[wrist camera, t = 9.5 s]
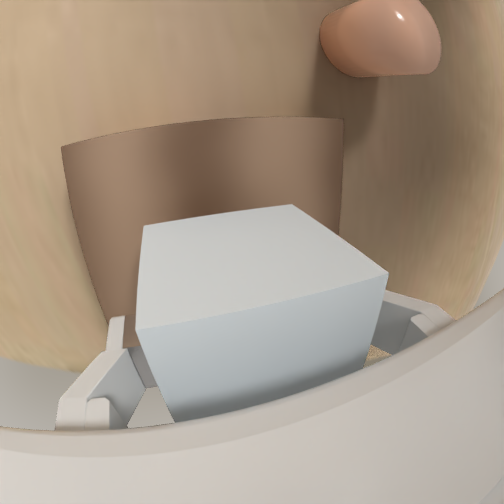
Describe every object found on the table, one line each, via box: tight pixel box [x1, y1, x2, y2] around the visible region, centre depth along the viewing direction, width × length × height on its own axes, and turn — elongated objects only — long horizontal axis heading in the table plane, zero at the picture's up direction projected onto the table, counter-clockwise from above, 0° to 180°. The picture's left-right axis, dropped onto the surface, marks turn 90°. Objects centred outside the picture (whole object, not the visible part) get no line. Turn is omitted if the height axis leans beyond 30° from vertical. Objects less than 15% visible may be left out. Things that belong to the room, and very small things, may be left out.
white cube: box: [135, 204, 389, 423], centre depth 9 cm, size 6×6×6 cm
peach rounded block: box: [320, 0, 441, 78], centre depth 11 cm, size 5×5×5 cm
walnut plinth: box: [61, 117, 344, 326], centre depth 14 cm, size 12×12×3 cm
